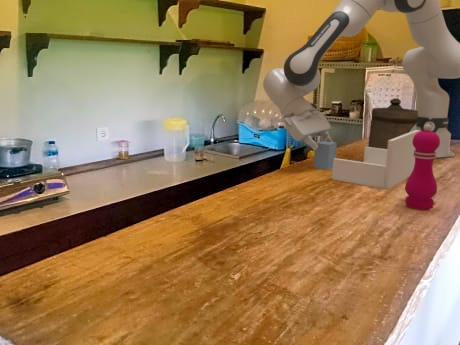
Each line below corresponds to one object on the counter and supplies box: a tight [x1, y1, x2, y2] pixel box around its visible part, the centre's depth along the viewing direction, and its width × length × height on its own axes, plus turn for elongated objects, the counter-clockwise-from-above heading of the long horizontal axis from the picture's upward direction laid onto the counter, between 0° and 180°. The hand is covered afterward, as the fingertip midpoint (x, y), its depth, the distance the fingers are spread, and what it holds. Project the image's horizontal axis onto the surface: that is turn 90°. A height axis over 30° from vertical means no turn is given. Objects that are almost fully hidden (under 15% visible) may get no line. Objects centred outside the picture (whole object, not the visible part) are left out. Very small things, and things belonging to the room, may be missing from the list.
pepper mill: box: [404, 124, 440, 211], centre depth 114 cm, size 7×7×20 cm
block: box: [313, 140, 338, 171], centre depth 150 cm, size 5×5×9 cm
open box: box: [331, 130, 420, 190], centre depth 140 cm, size 24×16×14 cm, turn 143°
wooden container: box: [367, 97, 418, 149], centre depth 161 cm, size 15×15×22 cm
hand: (324, 146), depth 149 cm, fingers open, 8 cm apart
